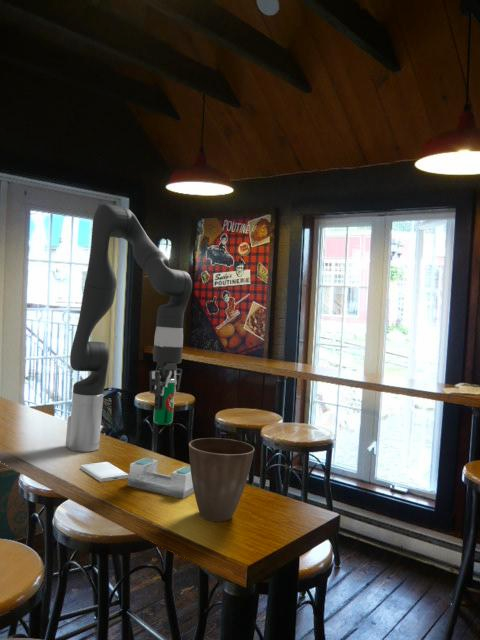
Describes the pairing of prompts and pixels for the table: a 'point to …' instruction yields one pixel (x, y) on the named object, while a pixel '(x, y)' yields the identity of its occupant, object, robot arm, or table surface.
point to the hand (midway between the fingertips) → (163, 408)
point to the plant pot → (219, 475)
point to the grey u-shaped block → (160, 479)
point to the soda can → (166, 405)
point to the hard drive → (104, 471)
